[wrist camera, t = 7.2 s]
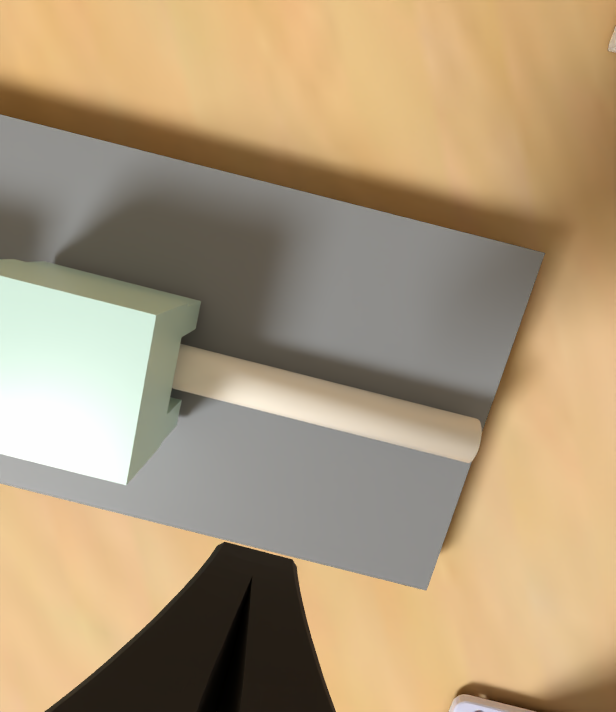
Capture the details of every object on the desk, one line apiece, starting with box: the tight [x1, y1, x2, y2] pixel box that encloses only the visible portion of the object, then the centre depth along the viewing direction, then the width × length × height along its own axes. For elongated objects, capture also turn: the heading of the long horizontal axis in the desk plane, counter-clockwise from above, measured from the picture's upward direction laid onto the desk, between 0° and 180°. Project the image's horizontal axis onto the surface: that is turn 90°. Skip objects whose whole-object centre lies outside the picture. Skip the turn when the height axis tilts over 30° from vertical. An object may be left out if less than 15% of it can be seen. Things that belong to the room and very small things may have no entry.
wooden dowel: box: [172, 344, 482, 463], centre depth 15 cm, size 19×2×2 cm, turn 76°
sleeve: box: [0, 259, 201, 485], centre depth 14 cm, size 5×4×4 cm
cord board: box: [0, 114, 545, 590], centre depth 16 cm, size 20×12×2 cm, turn 76°
